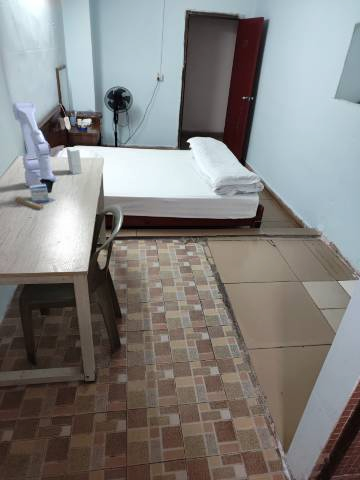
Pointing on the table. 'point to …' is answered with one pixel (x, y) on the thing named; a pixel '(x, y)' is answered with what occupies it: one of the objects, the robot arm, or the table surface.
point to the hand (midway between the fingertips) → (49, 192)
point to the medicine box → (39, 193)
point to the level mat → (31, 203)
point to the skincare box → (74, 160)
